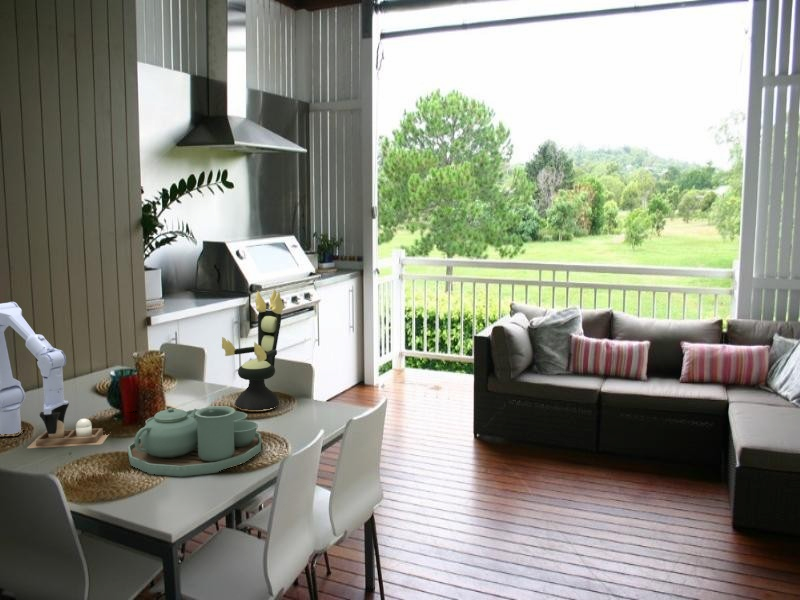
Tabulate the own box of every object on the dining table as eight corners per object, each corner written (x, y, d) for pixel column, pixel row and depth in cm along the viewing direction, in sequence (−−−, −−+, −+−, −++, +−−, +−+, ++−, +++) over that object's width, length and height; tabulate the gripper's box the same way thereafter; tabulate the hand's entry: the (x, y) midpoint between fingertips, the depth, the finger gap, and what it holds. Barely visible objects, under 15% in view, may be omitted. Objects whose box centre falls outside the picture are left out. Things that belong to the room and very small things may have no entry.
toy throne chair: (221, 408, 252) (218, 291, 246) (262, 395, 271) (260, 286, 265) (257, 417, 242) (255, 295, 236) (297, 403, 261) (296, 289, 255)
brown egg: (46, 443, 211) (45, 422, 210) (51, 438, 215) (50, 418, 214) (62, 442, 212) (61, 421, 211) (66, 437, 216) (65, 417, 215)
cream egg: (74, 441, 212) (73, 421, 212) (78, 436, 217) (77, 417, 216) (90, 440, 213) (89, 420, 212) (93, 436, 218) (92, 416, 217)
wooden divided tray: (26, 450, 206) (26, 442, 206) (40, 436, 218) (39, 429, 218) (101, 446, 210) (101, 438, 210) (111, 433, 223) (110, 426, 222)
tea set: (282, 439, 219) (282, 390, 217) (218, 485, 181) (216, 427, 179) (178, 427, 230) (177, 381, 228) (96, 469, 192) (94, 414, 190)
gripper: (60, 394, 205) (62, 436, 207) (73, 382, 219) (75, 422, 221) (35, 395, 204) (37, 437, 205) (50, 383, 218) (52, 423, 219)
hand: (55, 429), depth 213 cm, fingers open, 7 cm apart
